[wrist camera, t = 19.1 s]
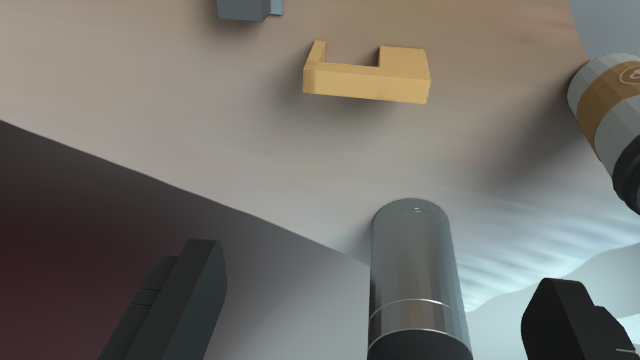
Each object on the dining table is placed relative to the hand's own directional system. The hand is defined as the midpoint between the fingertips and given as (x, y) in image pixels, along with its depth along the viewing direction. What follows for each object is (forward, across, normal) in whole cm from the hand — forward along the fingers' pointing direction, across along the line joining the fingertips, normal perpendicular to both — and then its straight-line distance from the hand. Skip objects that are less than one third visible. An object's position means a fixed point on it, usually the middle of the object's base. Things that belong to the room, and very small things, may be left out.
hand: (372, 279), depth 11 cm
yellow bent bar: (+31, 0, +5) cm, 31 cm away
